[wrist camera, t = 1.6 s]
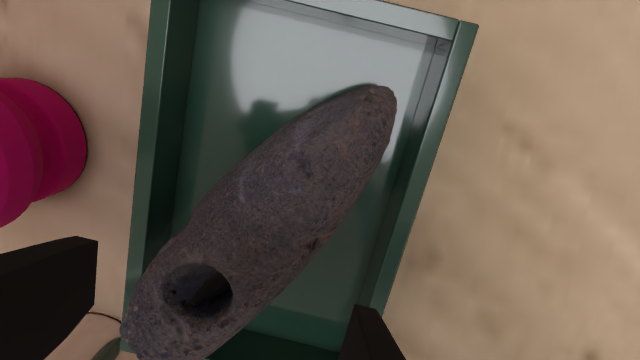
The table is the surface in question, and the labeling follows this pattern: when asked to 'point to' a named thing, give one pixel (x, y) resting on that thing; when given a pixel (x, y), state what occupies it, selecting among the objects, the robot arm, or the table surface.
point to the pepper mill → (35, 145)
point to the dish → (273, 113)
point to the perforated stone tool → (258, 228)
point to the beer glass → (93, 341)
